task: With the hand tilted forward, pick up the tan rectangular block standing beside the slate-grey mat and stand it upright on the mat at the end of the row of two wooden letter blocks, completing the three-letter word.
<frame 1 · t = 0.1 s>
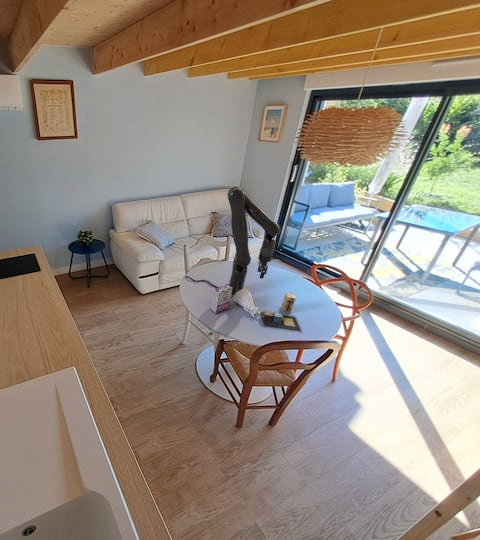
hand: (260, 274, 189), 17 cm above the table, tool pointing down, fingers open, 8 cm apart
letter block 2: (276, 320, 174), resting on word mat
candy bar box: (219, 309, 185), on the table
letter block 1: (266, 318, 175), resting on word mat
tan rectangular block: (285, 311, 183), on the table
word mat: (279, 321, 174), on the table
rocket engine: (244, 309, 185), on the table
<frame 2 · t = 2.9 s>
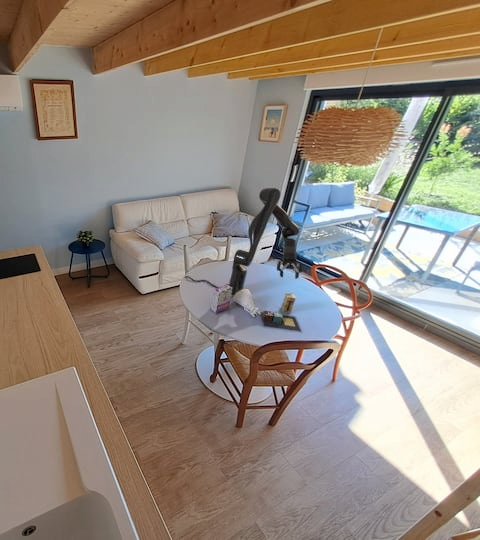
hand: (289, 277, 183), 18 cm above the table, tool tilted 45°, fingers open, 8 cm apart
nothing on the table moved.
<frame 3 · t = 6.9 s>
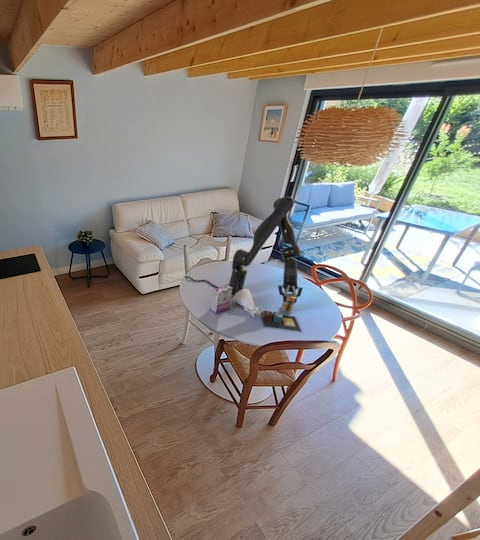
hand: (289, 302, 177), 8 cm above the table, tool tilted 45°, fingers closed on tan rectangular block, 4 cm apart
tan rectangular block: (285, 311, 183), on the table, touching gripper
everything else where it was.
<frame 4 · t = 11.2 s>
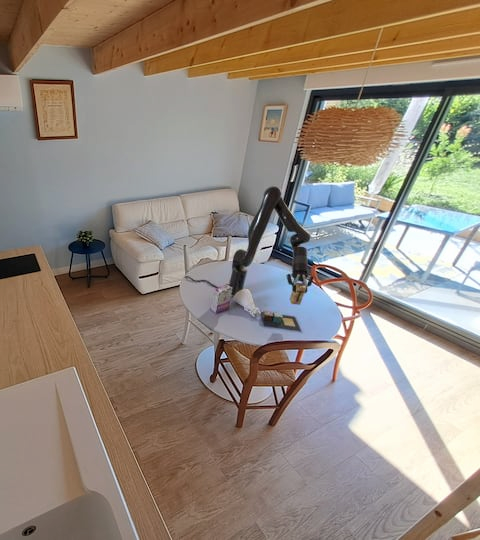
hand: (299, 292, 162), 22 cm above the table, tool tilted 45°, fingers closed on tan rectangular block, 4 cm apart
tan rectangular block: (294, 302, 168), point 14 cm above the table, touching gripper
everything else where it was.
when the fingers open (9 cm above the table, at t = 15.4 s): tan rectangular block stays where it is, resting on word mat.
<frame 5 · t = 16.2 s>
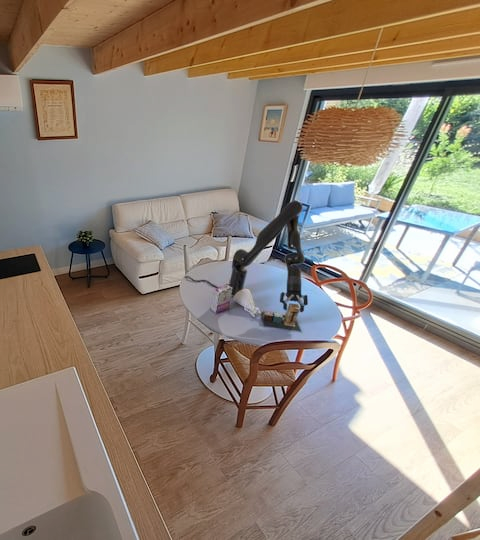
hand: (293, 311, 167), 10 cm above the table, tool tilted 45°, fingers open, 8 cm apart
tan rectangular block: (289, 321, 173), resting on word mat
everything else where it was.
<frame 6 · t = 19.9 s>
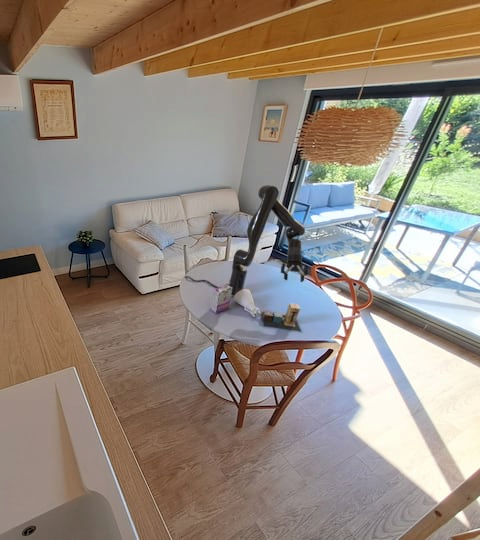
hand: (293, 280, 172), 23 cm above the table, tool tilted 45°, fingers open, 8 cm apart
nothing on the table moved.
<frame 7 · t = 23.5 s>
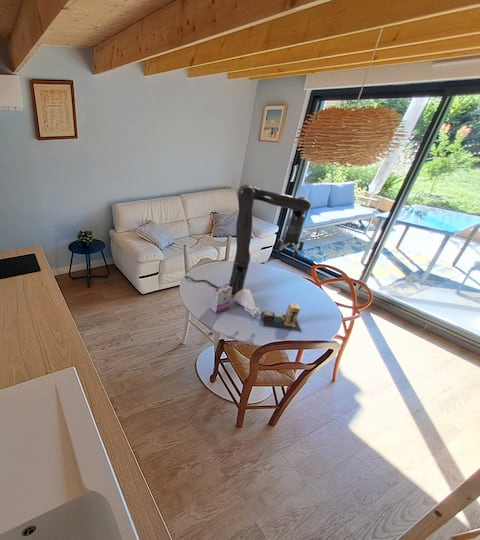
hand: (286, 255, 178), 33 cm above the table, tool pointing down, fingers open, 8 cm apart
nothing on the table moved.
at the end: tan rectangular block 0.2 cm from the target spot, point 0.5 cm above the table; tan rectangular block tilted 0°; letter block 2 moved 0.0 cm from its start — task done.
